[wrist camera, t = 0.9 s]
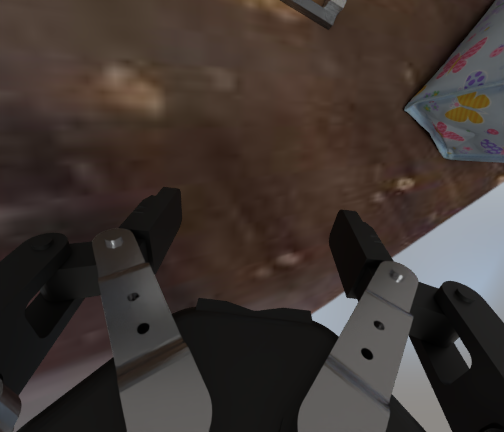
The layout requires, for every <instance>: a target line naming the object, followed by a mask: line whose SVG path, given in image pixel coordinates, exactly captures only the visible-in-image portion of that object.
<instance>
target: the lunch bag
mask: <svg viewBox="0 0 504 432" xmlns="http://www.w3.org/2000/svg"><path fill="white" fill-rule="evenodd" d="M404 110H405V111H406V112H407V113H409V114H410V115H411V116H412V117H413V118H414V119H415V120H416V121H417V122H418V123H419V124H420V125H421V126H422V127H423V128H424V129H425V130H427V131H428V132H429V133H430V135H431V138H432V139H433V140H434V142H435V144H436V146H437V148H438V150H439V152H440V153H441V155H442V156H443V157H444V158H446V159H450V160H465V161H482V162H504V0H495V1H494V3H493V4H492V6H491V7H490V8H489V10H488V11H487V12H486V14H485V15H484V16H483V17H482V18H481V20H480V21H479V22H478V23H477V25H476V26H475V27H474V28H473V30H472V31H471V32H470V33H469V34H468V36H467V37H466V38H465V39H464V40H463V42H462V43H461V44H460V45H459V46H458V47H457V48H456V50H455V51H454V52H453V53H452V55H451V56H450V57H449V58H448V60H447V61H446V62H445V64H444V65H443V66H442V67H441V68H440V69H439V70H438V71H437V72H436V74H435V75H434V76H433V77H432V78H431V79H430V80H429V81H428V82H427V84H426V85H425V86H424V87H423V88H422V89H421V90H420V91H419V92H418V93H417V94H416V95H415V96H414V97H413V98H412V99H411V101H410V102H409V103H408V104H407V105H406V107H405V109H404Z"/></svg>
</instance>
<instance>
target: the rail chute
mask: <svg viewBox="0 0 504 432" xmlns="http://www.w3.org/2000/svg"><path fill="white" fill-rule="evenodd" d="M280 1H282V2H284V3H285V4H287V5H289V6H290V7H292V8H294V9H295V10H297V11H299V12H300V13H302V14H303V15H305V16H307V17H308V18H310V19H312V20H313V21H315V22H317V23H318V24H320V25H322V26H323V27H325V28H326V29H328V30H329V29H330V27H331V26H332V25H333V23H334V21H335V18H336V16H337V15H338V14H339V12H340V11H341V10H342V9H343V8H344V5H345V3H346V0H325V2H324V4H323V7H321V6H320V5H318V4H316V3H315V2H313V1H312V0H280Z"/></svg>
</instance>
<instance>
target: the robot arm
mask: <svg viewBox="0 0 504 432" xmlns="http://www.w3.org/2000/svg"><path fill="white" fill-rule="evenodd" d="M181 221H182V208H181V192H180V189H176V188H168V187H163V188H162V189H161V190H160V192H159V193H158V194H157V195H156V196H153V195H151V196H150V197H148V198H146V199H144V200H142V202H141V203H140V204H139V205H138V207H136V208H135V210H134V211H133V212H132V213H131V214H130V215H129V217H128V218H127V219H126V220H125V221H124V222H123V223H122V225H121V226H120V227H119V228H116V229H110V230H106V231H104V232H102V233H100V234H98V235H97V236H96V237H95V238H94V239H93V241H92V242H84V243H73V244H69V241H68V239H67V237H66V236H65V235H63V234H60V233H46V234H41V235H38V236H35V237H32V238H30V239H28V240H27V241H25V242H24V243H22V244H21V245H20V246H19V247H17V248H16V249H15V250H14V251H13V252H11V253H10V254H9V255H8V256H6V257H5V258H4V259H3V260H2V261H0V432H13V431H14V425H15V423H16V421H17V419H18V417H19V415H20V412H21V400H20V398H19V394H20V393H21V391H22V390H23V388H24V387H25V385H26V384H27V382H28V381H29V379H30V378H31V376H32V375H33V373H34V372H35V371H36V369H37V368H38V366H39V365H40V363H41V362H42V360H43V359H44V357H45V356H46V354H47V353H48V351H49V350H50V348H51V347H52V346H53V344H54V343H55V341H56V340H57V338H58V337H59V335H60V334H61V332H62V331H63V329H64V328H65V326H66V325H67V323H68V322H69V320H70V319H71V318H72V316H73V315H74V313H75V312H76V310H77V309H78V307H79V306H80V304H81V303H82V301H83V300H84V298H85V297H92V296H98V295H101V298H102V303H103V308H104V313H105V318H106V323H107V327H108V332H109V337H110V342H111V347H112V352H113V358H112V359H110V360H109V361H108V362H106V363H105V364H104V365H102V366H101V367H100V368H98V369H97V370H96V371H94V372H93V373H92V374H91V375H89V376H88V377H87V378H85V379H84V380H83V381H81V382H80V383H79V384H77V385H76V386H75V387H73V388H72V389H71V390H69V391H68V392H67V393H66V394H64V395H63V396H62V397H60V398H59V399H58V400H56V401H55V402H54V403H52V404H51V405H50V406H48V407H47V408H46V409H44V410H43V411H42V412H41V413H39V414H38V415H37V416H35V417H34V418H33V419H31V420H30V421H29V422H27V423H26V424H25V425H24V426H22V427H21V428H20V429H19V430H18V431H17V432H426V431H425V430H424V429H423V428H422V426H421V425H420V424H419V423H418V422H417V421H416V420H415V419H414V418H413V417H412V416H411V415H410V413H409V412H408V411H407V410H406V409H405V408H404V407H403V406H402V405H401V404H400V403H399V401H398V400H397V399H396V398H395V397H394V396H393V395H392V390H393V387H394V383H395V380H396V376H397V373H398V369H399V366H400V363H401V359H402V356H403V352H404V349H405V345H406V342H407V338H408V335H409V337H410V340H411V342H412V344H413V346H414V348H415V350H416V353H417V355H418V357H419V359H420V361H421V364H422V366H423V368H424V370H425V373H426V375H427V377H428V379H429V381H430V383H431V386H432V388H433V390H434V392H435V395H436V397H437V399H438V401H439V403H440V406H441V408H442V410H443V412H444V415H445V416H446V419H447V421H448V423H449V425H450V428H451V430H452V432H504V323H503V322H502V320H501V319H500V318H499V317H498V316H497V314H496V313H495V312H494V311H493V310H492V308H491V307H490V306H489V305H488V304H487V303H486V301H485V300H484V299H483V298H482V297H481V296H480V295H479V294H478V293H477V292H475V291H474V290H472V289H471V288H469V287H467V286H465V285H463V284H461V283H458V282H454V281H446V282H444V283H443V284H442V285H441V286H440V288H439V289H438V288H435V287H432V286H429V285H426V284H424V283H421V282H418V278H417V277H416V275H415V274H414V273H413V272H412V271H411V270H410V269H409V268H407V267H405V266H404V265H402V264H400V263H397V262H394V261H393V259H392V258H391V256H390V255H389V253H388V251H387V250H386V248H385V247H384V245H383V244H382V242H381V240H380V239H379V238H378V235H377V234H376V232H375V231H374V229H373V228H372V227H370V226H369V225H368V224H367V223H366V222H363V221H362V220H361V218H360V216H359V215H358V213H357V212H356V211H349V210H340V211H339V212H338V214H337V217H336V219H335V222H334V225H333V227H332V230H331V233H330V236H329V246H330V249H331V252H332V255H333V258H334V261H335V264H336V267H337V270H338V273H339V276H340V279H341V282H342V285H343V288H344V291H345V294H346V297H347V298H354V299H357V300H358V304H357V306H356V308H355V309H354V311H353V313H352V315H351V316H350V319H349V320H348V322H347V324H346V325H345V327H344V329H343V331H342V332H341V334H340V336H339V337H338V336H337V335H336V334H335V333H334V332H332V331H331V330H329V329H328V328H327V327H325V326H323V325H321V324H319V323H317V322H315V321H312V316H311V311H307V310H298V309H289V308H277V309H269V310H261V311H253V310H250V309H247V308H244V307H241V306H239V305H236V304H233V303H230V302H227V301H221V300H212V299H203V298H199V299H198V302H197V306H196V307H191V308H187V309H183V310H180V311H178V312H175V313H173V314H171V312H170V310H169V308H168V305H167V303H166V301H165V299H164V296H163V294H162V292H161V289H160V287H159V285H158V283H157V280H156V278H155V276H154V274H156V272H157V270H158V268H159V267H160V265H161V263H162V261H163V259H164V257H165V255H166V253H167V251H168V249H169V247H170V245H171V243H172V241H173V239H174V237H175V235H176V234H177V232H178V230H179V228H180V225H181ZM39 290H40V294H39V295H38V296H37V297H36V298H35V299H34V300H33V301H32V303H31V304H30V305H29V306H28V307H27V308H26V306H27V304H28V303H29V301H30V300H31V299H32V298H33V297H34V296H35V294H36V293H37V292H38V291H39ZM459 337H460V339H461V340H462V342H463V344H464V345H465V347H466V348H467V350H468V351H469V353H470V355H471V359H472V365H471V368H470V369H469V368H468V366H467V364H466V362H465V361H464V359H463V357H462V356H461V354H460V352H459V351H458V349H457V348H456V346H455V344H454V342H455V341H456V340H457V339H458V338H459Z"/></svg>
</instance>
